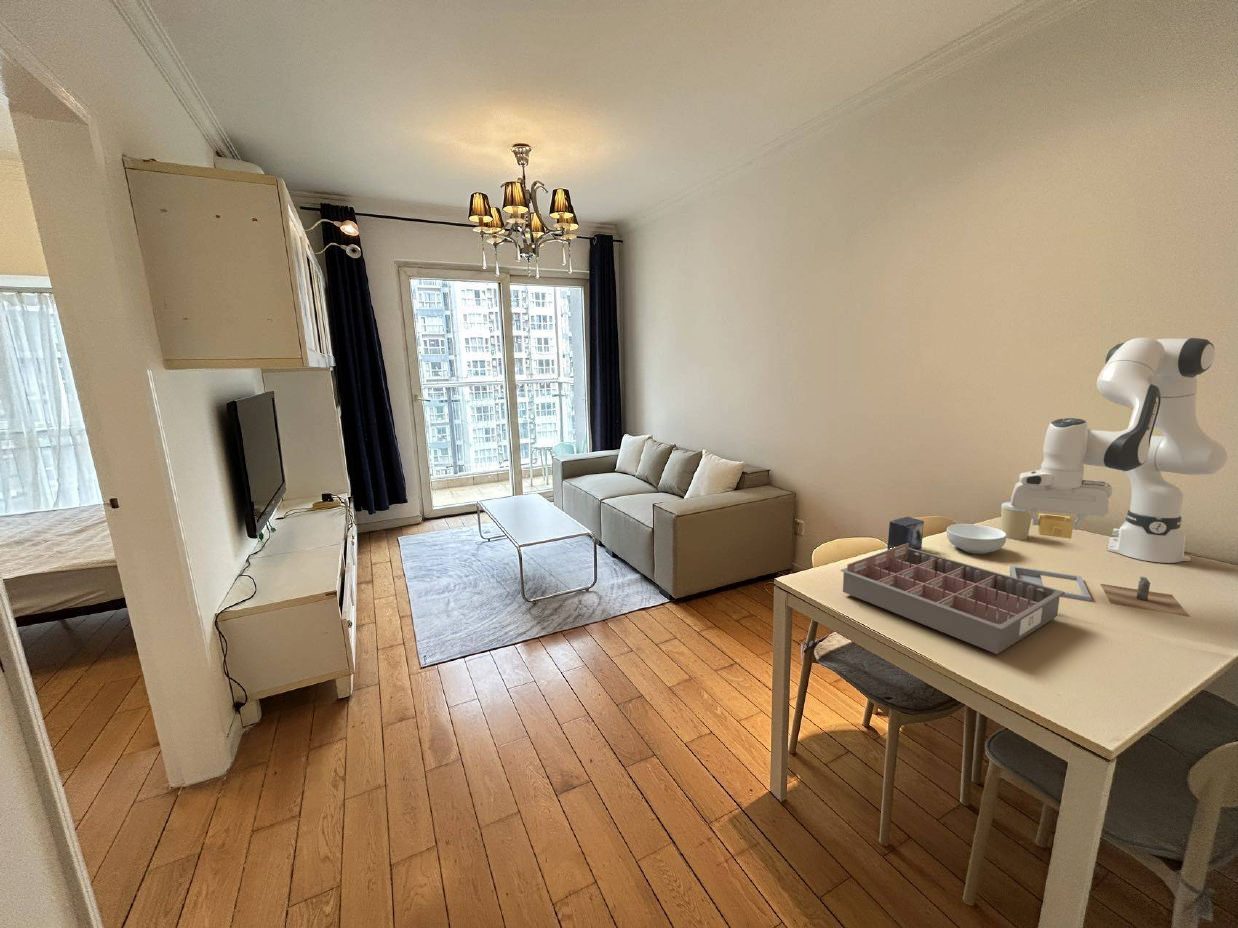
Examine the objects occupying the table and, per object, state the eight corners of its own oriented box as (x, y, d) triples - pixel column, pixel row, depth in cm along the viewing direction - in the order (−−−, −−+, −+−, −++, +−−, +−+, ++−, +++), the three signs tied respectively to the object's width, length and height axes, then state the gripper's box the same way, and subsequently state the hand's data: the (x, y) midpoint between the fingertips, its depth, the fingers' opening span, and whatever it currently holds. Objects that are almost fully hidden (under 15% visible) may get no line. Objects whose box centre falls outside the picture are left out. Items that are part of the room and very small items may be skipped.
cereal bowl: (958, 538, 184) (960, 520, 183) (1012, 551, 170) (1015, 531, 169) (936, 549, 175) (937, 529, 174) (991, 563, 161) (993, 542, 160)
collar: (1037, 528, 143) (1038, 513, 143) (1067, 531, 140) (1069, 516, 139) (1040, 537, 136) (1042, 522, 135) (1072, 541, 132) (1075, 525, 131)
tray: (1009, 573, 153) (1010, 565, 152) (1079, 584, 144) (1080, 576, 143) (1012, 592, 140) (1013, 584, 140) (1089, 606, 131) (1091, 597, 131)
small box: (904, 554, 171) (906, 525, 169) (886, 549, 176) (888, 520, 174) (922, 548, 175) (925, 520, 173) (905, 543, 181) (907, 515, 179)
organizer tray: (999, 662, 109) (1003, 620, 107) (838, 596, 143) (839, 563, 141) (1061, 621, 124) (1066, 584, 123) (903, 570, 159) (905, 540, 157)
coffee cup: (1025, 533, 186) (1029, 502, 184) (1034, 541, 178) (1037, 509, 176) (995, 531, 190) (998, 500, 188) (1002, 539, 182) (1005, 507, 180)
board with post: (1099, 588, 141) (1102, 565, 139) (1171, 600, 133) (1175, 575, 131) (1109, 608, 129) (1113, 583, 128) (1189, 622, 121) (1194, 595, 120)
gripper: (1110, 479, 133) (1103, 529, 135) (1013, 473, 144) (1008, 518, 147) (1116, 484, 128) (1108, 536, 130) (1014, 477, 139) (1009, 524, 142)
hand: (1054, 527), depth 139 cm, fingers closed on collar, 7 cm apart
